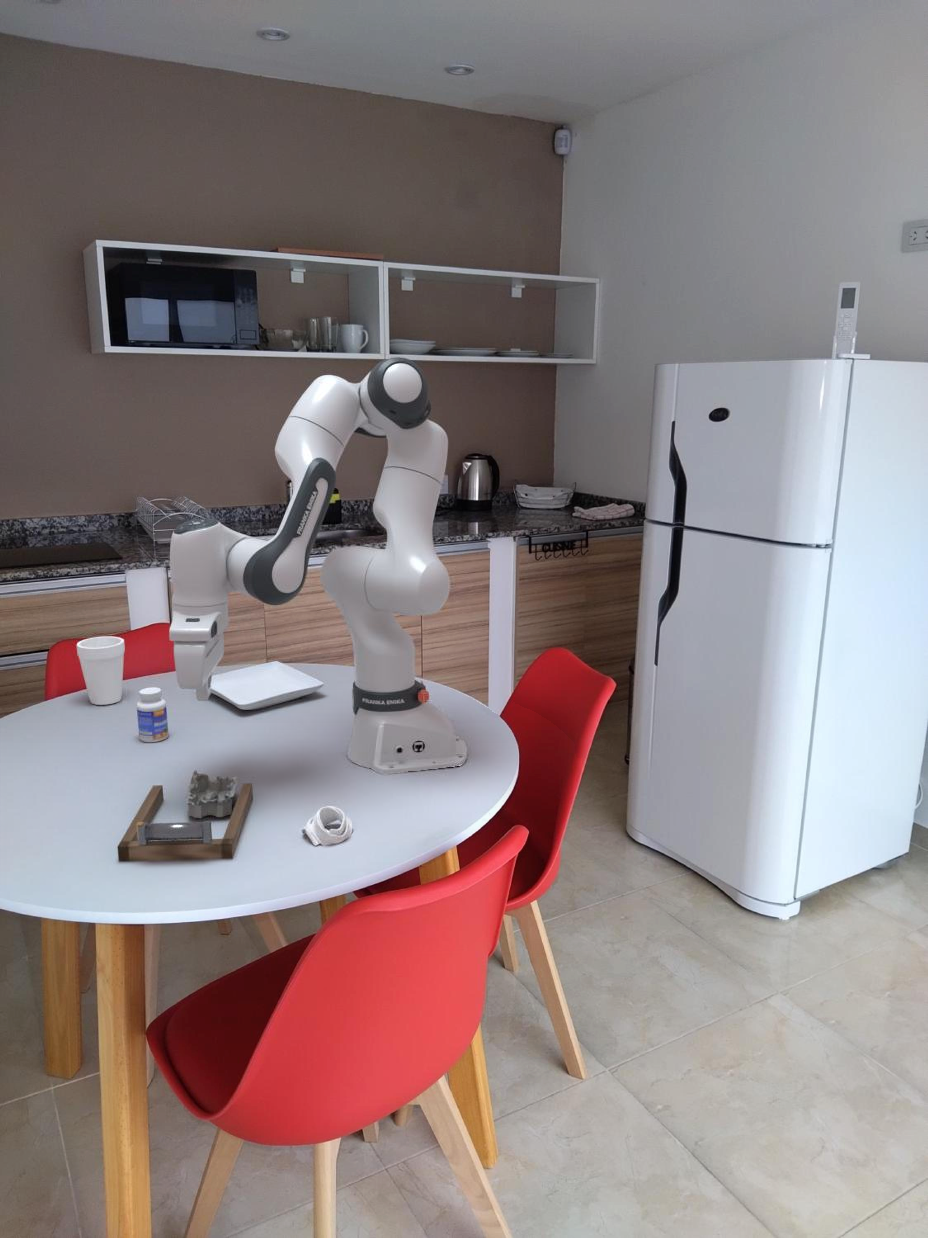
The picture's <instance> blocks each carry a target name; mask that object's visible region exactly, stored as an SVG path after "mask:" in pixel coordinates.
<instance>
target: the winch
mask: <svg viewBox="0 0 928 1238" xmlns="http://www.w3.org/2000/svg"><path fill="white" fill-rule="evenodd" d="M136 826H137V837H138V840H139V846H146V845H147V843H148V842H149V841H159V840H195V839H203V844H211V841H212V839H213V833H212V832H213V831H212V830H213V829H212V820H204V821H190V822H188V821H187V822H153V823H152V822H151V823H147V822H145V823H144V822H138V823H137V825H136Z"/></svg>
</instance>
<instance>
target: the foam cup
mask: <svg viewBox="0 0 928 1238" xmlns="http://www.w3.org/2000/svg"><path fill="white" fill-rule="evenodd" d="M125 646H126V645H125V639H124V638H121V637H118V636H111V635H110V636H105V635H104V636H96V637H94V636H93V637H89V638H85V639H83V640H80V641H78V642H77V644H76V651H77V653H76V654H77V656H78V660H79V662H80V666H81V671H82V674H83V678H84V682H85V686H86V691H87V695H88V697H89V702H90V703H91V704H93V705H97V706H98V705H99V706H103V705H104V706H105V705H112V704H114V703H119V702H120V701H121V700H122V696H123V695H122V694H123V693H122V692H123V678H124V677H123V674H124V657H125V655H124V654H125V651H126V648H125Z"/></svg>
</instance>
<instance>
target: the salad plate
mask: <svg viewBox="0 0 928 1238" xmlns="http://www.w3.org/2000/svg"><path fill="white" fill-rule="evenodd" d="M324 684H325V683H324V682H323V681H321V680H319V679H317V678H315V677H312V676H311V675H308V674H306V673H304V672H303V671H300V670H297V669H296V668H294V667H292V666H290V665H287V664H285V663H283V662H280V661H278V660H277V661H271V662H266V663H262V664H257V665H251V666H248V667H244V668H240V669H235V670H231V671H227V672H222V673H217V674H215V675H214V674H213V675H212V681H211V694H213V695H216V696H217V697H219V698H220V699H222V700H224V701H226V702H228V703H230V704H232V705H233V706H235V707H237V708H238V709H240V710H242V711H243V710H244V711H249V710H250V711H253V710H259V709H263V708H267V707H270V706H274V705H278V704H281V703H286V702H290V701H292V700H295V699H299V698H301V697H304V696H308V695H310V694H313V693H315V692H317V691H319V690H320V689H321V688H323V686H324Z"/></svg>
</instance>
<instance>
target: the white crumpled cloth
mask: <svg viewBox="0 0 928 1238" xmlns="http://www.w3.org/2000/svg"><path fill="white" fill-rule="evenodd" d="M336 821H339V822H340V823H341V824H340V827H339V828H337V829H336V828H330V829H327V828H325V826H327V825H330V824H332V823H334V822H336ZM353 826H354V825H353V822H352V820H351V818H350V817H348V816H346V814H345V812H344V811H343V810H342V809H341V808H338V807H337V806H334V805H327V806H322V807H321V808H319V809H318V810H317V811H316V813H315V814H314V816H313V817H311V818H309V820H307V821H306V824H305V826H304V827H303V828H302V830H301V832H302V834H305V835H307V837H308V838H309V839H310V841H311V843H312V844H313V846H316V847H317V846H318V845H322V846H329V845H335V844H336V845H337V844H340V843H342V842H343V841H345V840H346V839H348V838H350V837H351V836H352V833H353V830H354V829H353Z"/></svg>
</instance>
